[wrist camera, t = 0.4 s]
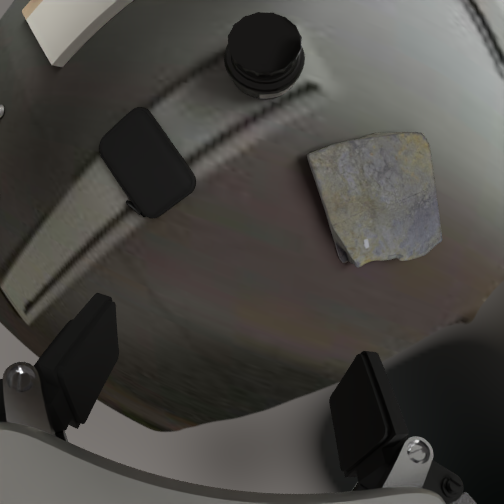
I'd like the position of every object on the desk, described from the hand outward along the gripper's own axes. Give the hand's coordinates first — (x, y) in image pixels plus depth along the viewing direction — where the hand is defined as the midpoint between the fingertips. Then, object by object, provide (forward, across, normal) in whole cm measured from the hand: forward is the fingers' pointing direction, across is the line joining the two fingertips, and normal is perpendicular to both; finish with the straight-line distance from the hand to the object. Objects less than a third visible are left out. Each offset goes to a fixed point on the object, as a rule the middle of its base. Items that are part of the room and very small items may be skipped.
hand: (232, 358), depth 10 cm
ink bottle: (+31, +3, -17) cm, 35 cm away
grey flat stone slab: (+31, -18, -4) cm, 36 cm away
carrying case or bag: (+31, +16, 0) cm, 35 cm away
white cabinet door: (+31, +35, -31) cm, 56 cm away
